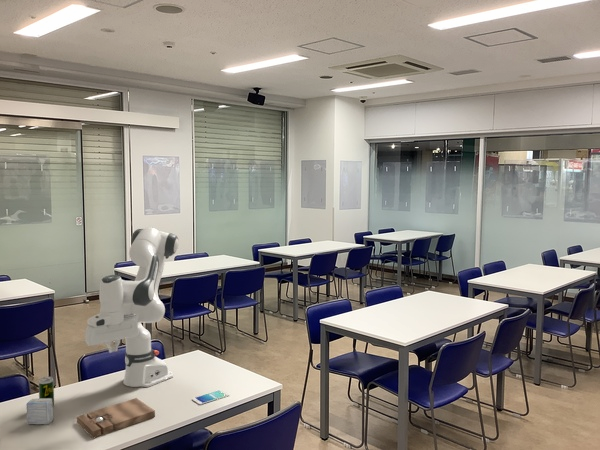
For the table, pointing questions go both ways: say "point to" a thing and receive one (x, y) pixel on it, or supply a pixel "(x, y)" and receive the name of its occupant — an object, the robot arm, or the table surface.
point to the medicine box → (39, 411)
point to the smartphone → (209, 397)
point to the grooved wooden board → (115, 417)
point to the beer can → (46, 388)
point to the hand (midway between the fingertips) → (113, 351)
